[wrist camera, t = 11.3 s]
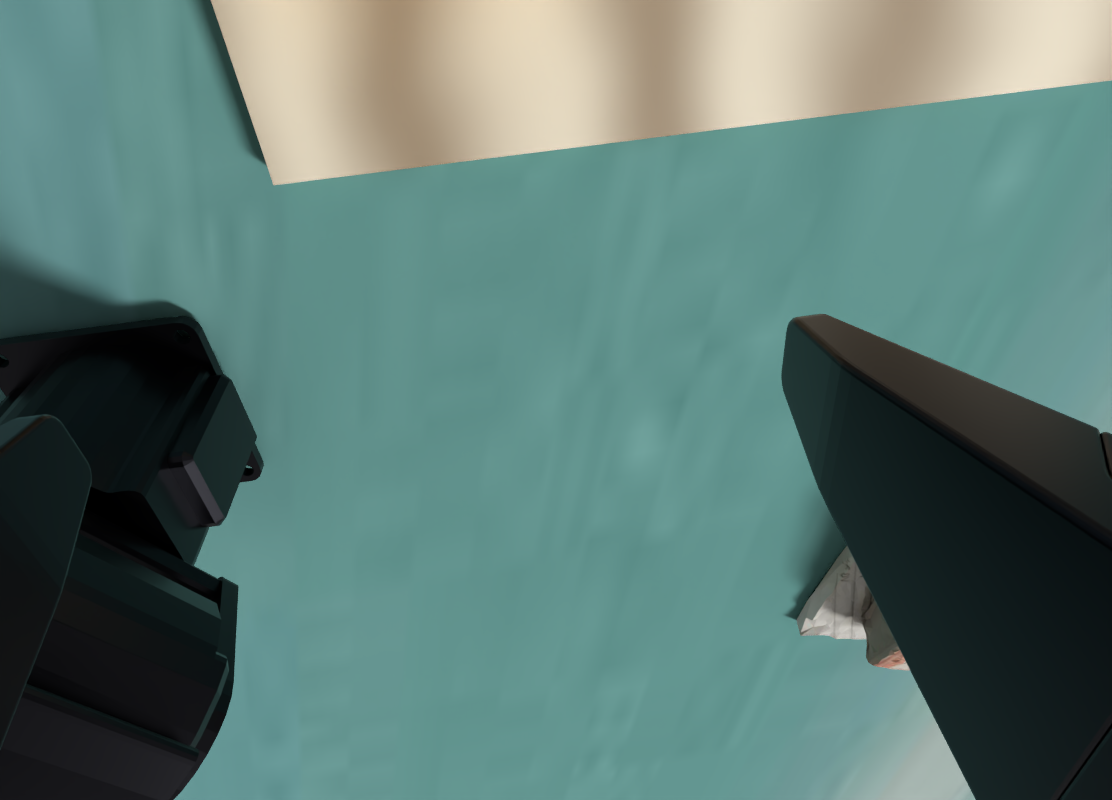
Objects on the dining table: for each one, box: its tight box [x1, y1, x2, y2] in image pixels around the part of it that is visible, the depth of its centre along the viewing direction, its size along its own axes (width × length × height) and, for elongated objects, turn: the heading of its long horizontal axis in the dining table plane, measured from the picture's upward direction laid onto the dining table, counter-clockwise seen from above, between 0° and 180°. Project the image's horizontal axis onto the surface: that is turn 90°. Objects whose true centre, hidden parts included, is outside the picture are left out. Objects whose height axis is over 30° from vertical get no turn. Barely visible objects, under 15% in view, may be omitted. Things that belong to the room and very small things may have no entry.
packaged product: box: [797, 546, 910, 670], centre depth 32 cm, size 18×5×10 cm
